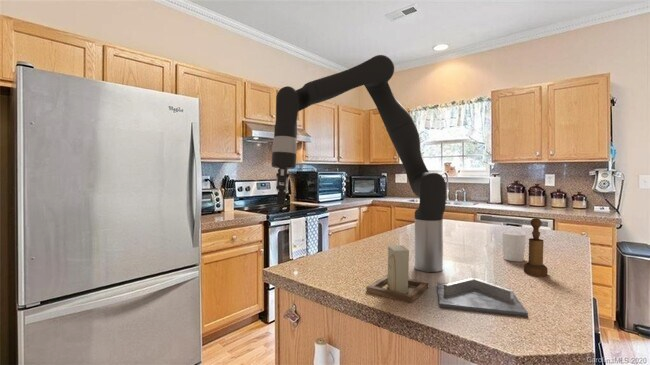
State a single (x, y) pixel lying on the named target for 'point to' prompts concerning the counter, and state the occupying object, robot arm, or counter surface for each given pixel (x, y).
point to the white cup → (513, 245)
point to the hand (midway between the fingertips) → (281, 204)
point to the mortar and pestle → (535, 252)
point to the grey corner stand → (479, 297)
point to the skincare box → (398, 268)
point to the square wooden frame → (408, 297)
